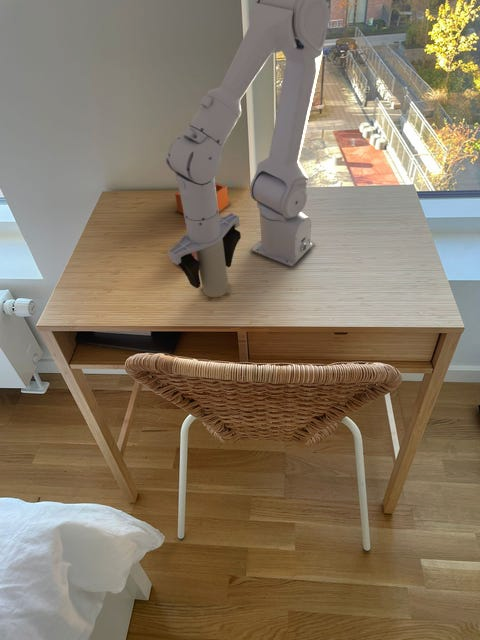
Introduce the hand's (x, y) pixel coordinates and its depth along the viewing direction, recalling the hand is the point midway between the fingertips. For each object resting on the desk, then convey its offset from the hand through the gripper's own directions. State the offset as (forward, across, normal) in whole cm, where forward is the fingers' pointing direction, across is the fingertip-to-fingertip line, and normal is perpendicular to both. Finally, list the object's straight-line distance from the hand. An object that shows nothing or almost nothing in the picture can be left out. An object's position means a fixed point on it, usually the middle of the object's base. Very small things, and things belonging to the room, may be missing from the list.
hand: (210, 274), depth 89 cm
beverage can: (+4, 0, +1) cm, 4 cm away
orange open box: (+3, -17, -22) cm, 28 cm away
